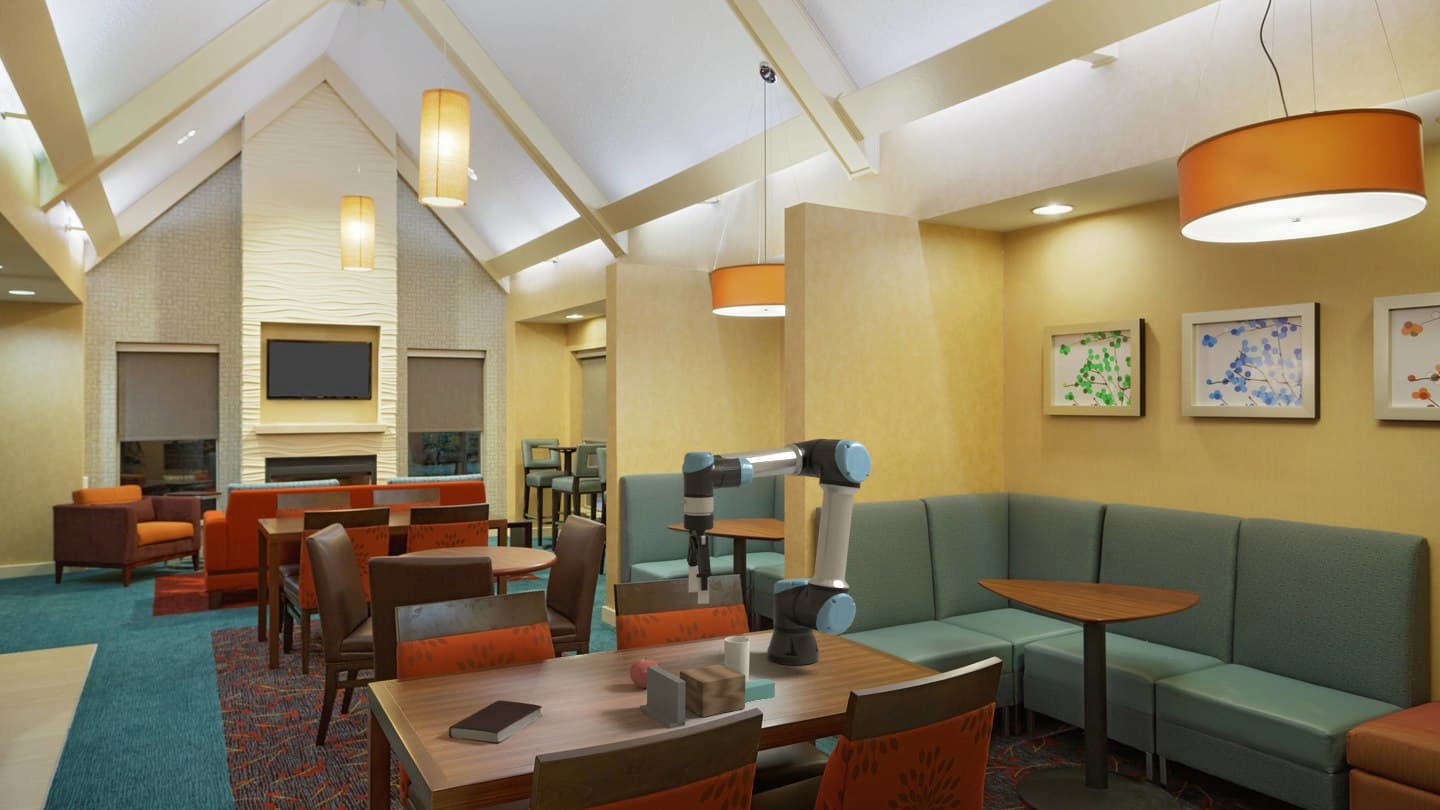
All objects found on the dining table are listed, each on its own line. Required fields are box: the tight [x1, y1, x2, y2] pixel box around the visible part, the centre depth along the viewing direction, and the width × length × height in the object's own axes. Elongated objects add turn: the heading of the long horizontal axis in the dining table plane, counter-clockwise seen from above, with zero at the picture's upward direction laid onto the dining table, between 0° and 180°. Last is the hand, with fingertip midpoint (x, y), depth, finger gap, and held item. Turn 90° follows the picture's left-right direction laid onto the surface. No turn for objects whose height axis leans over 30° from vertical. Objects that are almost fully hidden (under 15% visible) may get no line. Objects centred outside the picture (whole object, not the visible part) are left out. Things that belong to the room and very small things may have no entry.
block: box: [679, 663, 746, 718], centre depth 219 cm, size 12×11×8 cm
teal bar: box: [745, 678, 776, 704], centre depth 225 cm, size 14×4×4 cm, turn 124°
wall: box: [639, 665, 686, 729], centre depth 212 cm, size 4×15×10 cm, turn 33°
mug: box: [723, 635, 751, 682], centre depth 238 cm, size 10×7×12 cm, turn 24°
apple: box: [629, 657, 659, 689], centre depth 234 cm, size 7×7×8 cm
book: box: [448, 700, 543, 745], centre depth 205 cm, size 12×19×3 cm, turn 161°
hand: (698, 597), depth 227 cm, fingers open, 13 cm apart
